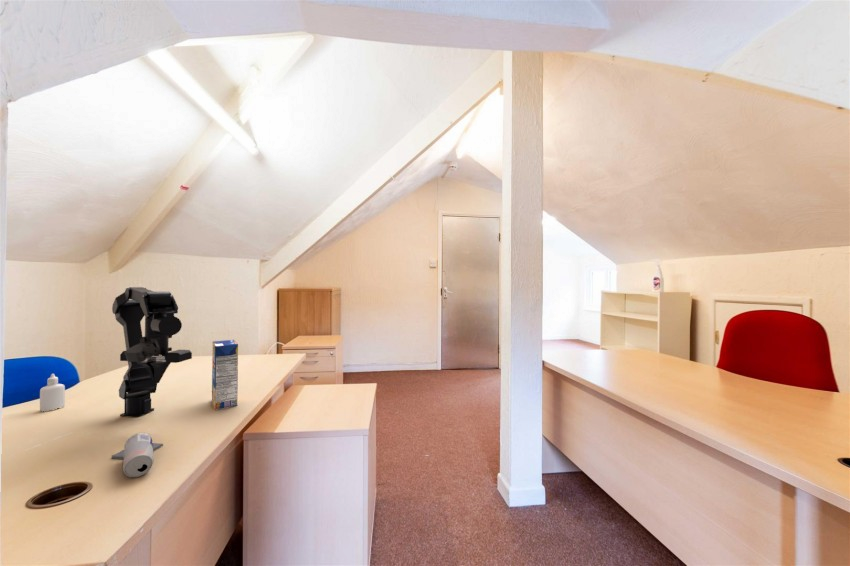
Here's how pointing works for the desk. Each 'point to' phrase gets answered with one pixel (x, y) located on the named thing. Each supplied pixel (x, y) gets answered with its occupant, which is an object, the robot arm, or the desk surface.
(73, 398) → the desk surface
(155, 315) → the robot arm
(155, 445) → the rubber coaster
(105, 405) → the desk surface
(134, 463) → the energy drink
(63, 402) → the eye dropper bottle
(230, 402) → the beverage box
